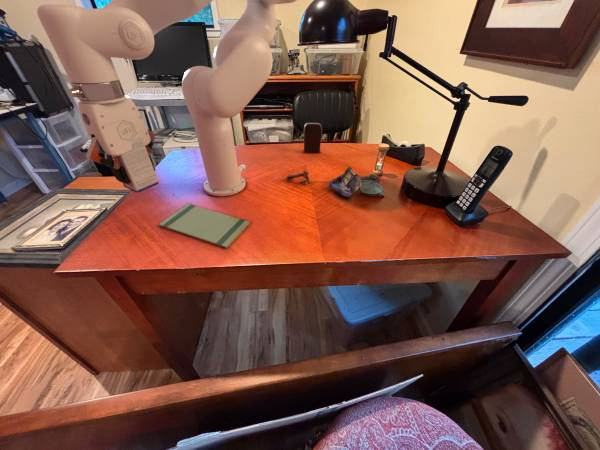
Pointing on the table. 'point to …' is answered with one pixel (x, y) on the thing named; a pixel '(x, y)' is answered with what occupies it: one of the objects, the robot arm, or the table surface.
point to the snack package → (346, 183)
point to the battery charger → (312, 137)
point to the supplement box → (138, 167)
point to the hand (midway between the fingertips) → (137, 175)
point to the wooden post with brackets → (299, 176)
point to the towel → (205, 225)
